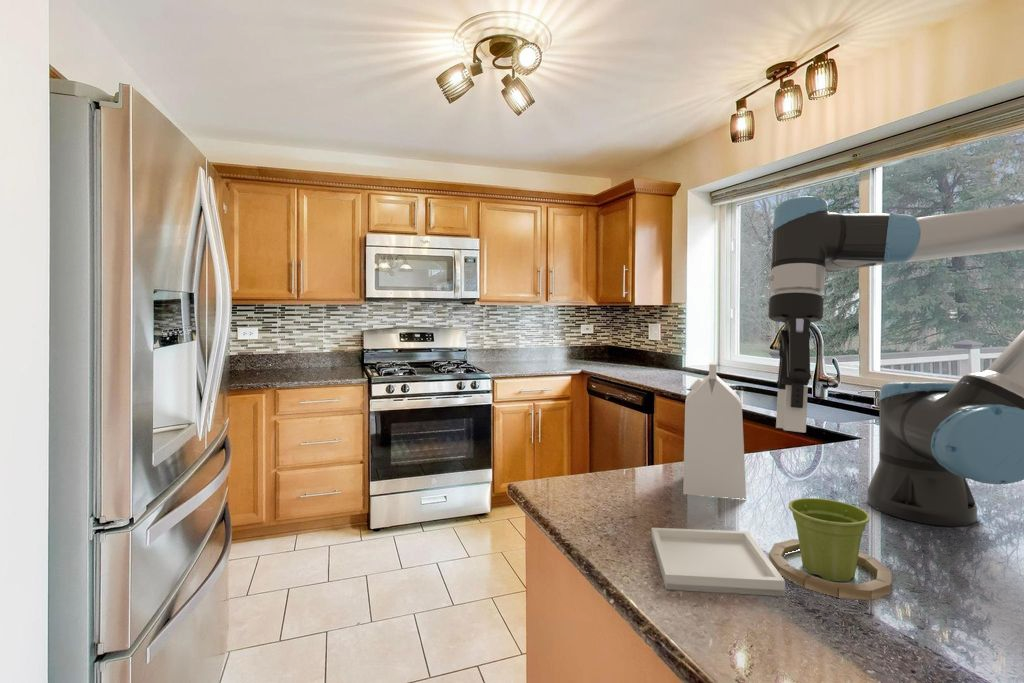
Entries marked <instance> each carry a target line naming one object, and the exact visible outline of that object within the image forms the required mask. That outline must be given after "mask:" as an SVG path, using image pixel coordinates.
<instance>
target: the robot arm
mask: <svg viewBox="0 0 1024 683" xmlns="http://www.w3.org/2000/svg"><path fill="white" fill-rule="evenodd" d="M828 206H829V204H828V202H827V200H826V199H825V198H822V197H816V196H813V195H811V196H810V195H804V196H803V195H801V196H796V197H791V198H788V199H786V200H784V201H782V202H781V203H779V205H778V206H777V207H776V208H775V211H774V218H773V226H772V231H771V234H772V246H771V265H770V267H771V268H770V270H771V271H770V274H768V275H766V281H767V282H770V285H769V286H770V289H769V290H770V291H769V293H770V294H771V295H772V296H770V297H769V298H768V300H769V301H768V313H767V314H768V318H769V320H771V321H773V322H776V323H777V322H778V323H784V329H781V330H780V332H779V333H778V344H779V347H778V355H779V363H778V375H777V376H778V377H777V380H776V384H777V396H776V397H777V398H776V401H777V402H776V418H775V420H776V422H775V428H776V429H783V431H785V432H786V431H789V432H795V433H806V432H807V417H808V416H807V415H808V397H809V396H808V393H809V386H808V385H809V384H810V379H811V378H812V374H811V354H810V353H811V352H810V351H811V349H810V348H811V347H810V340H811V331H810V325H811V324H812V323H816V322H817V323H818V322H820V321H821V320H823V317H824V303H825V302H824V300H825V299H824V297H823V296H822V295H823V294H824V293H825V287H826V286H825V285H826V284H825V283H826V273H835V272H841V271H842V270H844V271H845V270H853V269H860V268H861V269H862V268H869V267H876V266H887V265H894V264H904V263H911V262H921V261H929V260H938V259H939V260H941V259H948V258H956V257H966V256H974V255H975V256H976V255H984V254H993V253H1002V252H1011V251H1020V250H1021V251H1022V250H1024V203H1021V204H1020V203H1019V204H1013V205H1006V206H997V207H991V208H990V207H989V208H982V209H973V210H966V211H958V212H952V213H945V214H944V213H943V214H937V215H930V216H920V217H915V216H914V215H910V214H899V213H893V212H889V213H838V212H830V208H829V207H828ZM878 406H879V408H878V409H879V410H878V412H879V414H878V415H879V416H878V417H879V419H878V420H879V422H878V423H879V424H878V425H879V428H878V429H879V430H878V431H879V438H878V439H879V442H878V443H879V445H878V446H879V451H878V452H879V455H878V458H879V459H878V464H877V466H876V469H875V471H874V473H873V476H872V478H871V480H870V482H869V485H868V487H867V491H866V492H867V496H866V497H867V503H868V504H869V505H870V506H871V507H872V508H874V509H876V510H878V511H880V512H882V513H884V514H887V515H889V516H892V517H895V518H900V519H903V520H906V521H907V520H908V521H911V522H916V523H922V524H928V525H935V526H943V527H944V526H947V527H961V526H963V527H964V526H969V525H973V524H975V523H976V522H977V521H978V507H977V503H976V501H975V499H974V496H973V493H972V492H971V489H970V486H969V482H968V481H967V480H968V479H969V480H970V481H971V480H972V481H974V482H978V483H981V484H986V485H1009V484H1014V483H1018V482H1022V481H1024V329H1023V330H1022V331H1021V332H1020V333H1019V334H1018V335H1017V336H1016V337H1015V339H1013V341H1012V342H1011V343H1010V344H1009V345H1007V347H1006V348H1005V349H1004V350H1003V351H1002V353H1000V355H999V356H998V357H997V358H995V360H994V361H993V362H992V363H991V364H990V365H989V366H988V367H987V368H986V369H985V370H983V371H981V372H973V373H966V374H964V375H963V376H962V377H961V378H960V379H959V380H958V381H957V382H886V383H884V384H883V385H882V386H881V387H880V392H879V399H878Z"/></svg>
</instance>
